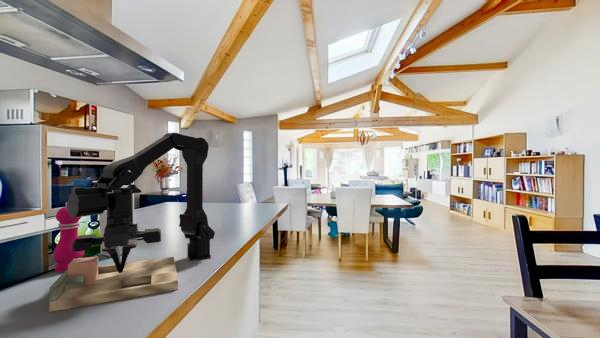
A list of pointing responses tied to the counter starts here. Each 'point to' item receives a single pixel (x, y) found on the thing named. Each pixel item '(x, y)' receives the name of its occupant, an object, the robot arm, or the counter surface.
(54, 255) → the pepper mill
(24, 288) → the counter surface
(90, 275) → the block
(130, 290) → the board
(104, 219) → the skincare box
